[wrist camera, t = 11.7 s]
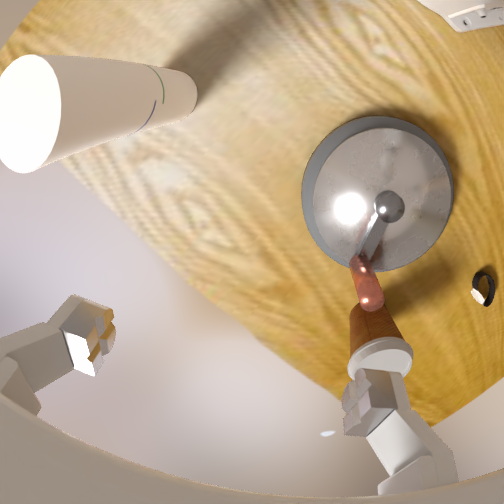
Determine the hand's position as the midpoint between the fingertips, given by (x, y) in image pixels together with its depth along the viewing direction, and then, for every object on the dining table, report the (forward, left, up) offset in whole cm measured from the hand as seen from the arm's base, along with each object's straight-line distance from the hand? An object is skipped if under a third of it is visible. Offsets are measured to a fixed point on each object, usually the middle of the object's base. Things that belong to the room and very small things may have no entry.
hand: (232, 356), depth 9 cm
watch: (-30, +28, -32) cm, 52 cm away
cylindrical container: (+10, -12, -31) cm, 35 cm away
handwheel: (-12, +8, -29) cm, 32 cm away
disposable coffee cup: (-8, +27, -31) cm, 42 cm away
